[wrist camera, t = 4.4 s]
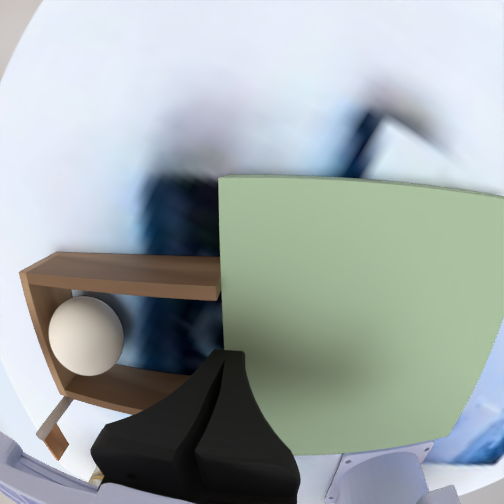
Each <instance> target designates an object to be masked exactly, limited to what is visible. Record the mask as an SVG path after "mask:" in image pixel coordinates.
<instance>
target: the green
mask: <svg viewBox="0 0 504 504" xmlns="http://www.w3.org/2000/svg"><path fill="white" fill-rule="evenodd" d="M219 229H220V263H221V290H222V313H223V333H224V350H233V351H243V352H244V353H245V368H246V373H247V377H248V381H249V384H250V387H251V390H252V393H253V395H254V398H255V400H256V402H257V404H258V406H259V408H260V410H261V412H262V413H263V415H264V417H265V419H266V420H267V422H268V423H269V424H270V426H271V427H272V429H273V430H274V432H275V433H276V434H277V435H278V437H279V438H280V439H281V440H282V441H283V442H284V444H285V445H286V446H287V447H288V448H289V449H290V450H291V452H292V454H293V455H326V454H342V453H353V452H363V451H372V450H379V449H386V448H393V447H399V446H405V445H410V444H415V443H420V442H425V441H429V440H434V439H438V438H442V437H446V436H448V435H449V433H450V432H451V430H452V428H453V427H454V425H455V423H456V422H457V420H458V418H459V416H460V415H461V413H462V411H463V409H464V407H465V405H466V404H467V402H468V400H469V398H470V396H471V394H472V392H473V390H474V388H475V386H476V384H477V382H478V380H479V377H480V375H481V373H482V371H483V369H484V366H485V364H486V361H487V359H488V357H489V354H490V352H491V349H492V347H493V344H494V342H495V339H496V336H497V334H498V331H499V328H500V325H501V323H502V320H503V317H504V197H503V196H499V195H493V194H487V193H481V192H475V191H468V190H461V189H454V188H447V187H439V186H431V185H423V184H414V183H405V182H394V181H383V180H371V179H358V178H342V177H324V176H300V175H226V176H223V177H220V178H219Z"/></svg>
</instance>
